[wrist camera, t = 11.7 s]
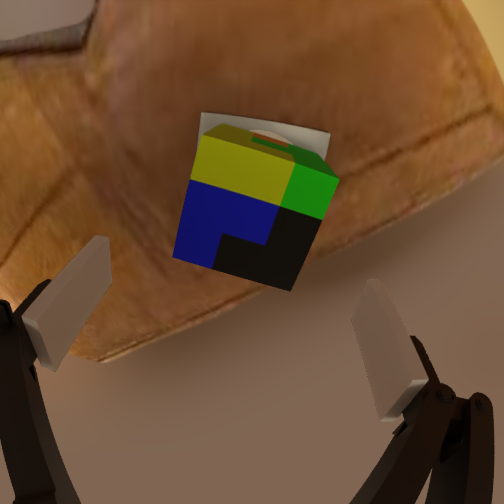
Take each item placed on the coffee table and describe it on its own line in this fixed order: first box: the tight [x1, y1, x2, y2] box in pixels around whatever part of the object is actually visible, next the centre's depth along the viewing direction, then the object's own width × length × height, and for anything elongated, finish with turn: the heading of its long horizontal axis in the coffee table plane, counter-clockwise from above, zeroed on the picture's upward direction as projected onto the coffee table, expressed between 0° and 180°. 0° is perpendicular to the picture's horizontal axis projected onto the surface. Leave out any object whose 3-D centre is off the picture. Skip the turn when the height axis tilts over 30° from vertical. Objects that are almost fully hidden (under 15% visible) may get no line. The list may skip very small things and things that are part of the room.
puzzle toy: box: [172, 123, 339, 291], centre depth 27 cm, size 10×10×10 cm
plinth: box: [196, 111, 331, 161], centre depth 33 cm, size 13×13×2 cm
